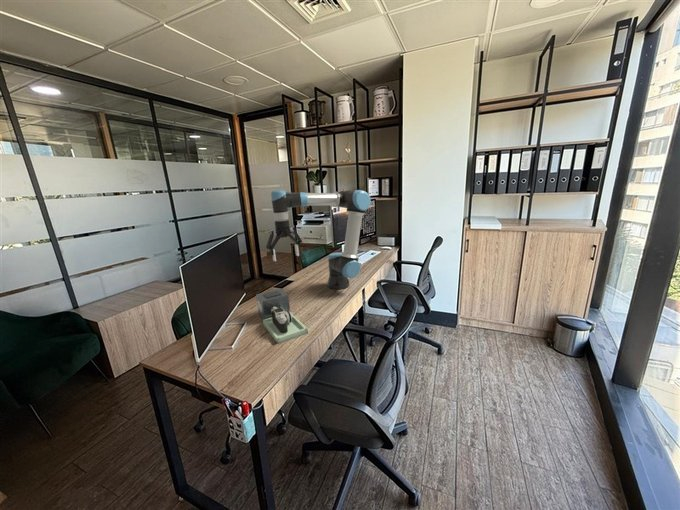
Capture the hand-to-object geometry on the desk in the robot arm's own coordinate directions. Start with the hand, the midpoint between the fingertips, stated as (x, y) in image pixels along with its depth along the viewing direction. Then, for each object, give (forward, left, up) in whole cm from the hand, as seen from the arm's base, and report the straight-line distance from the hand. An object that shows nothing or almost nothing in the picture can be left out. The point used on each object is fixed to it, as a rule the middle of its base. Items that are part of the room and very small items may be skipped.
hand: (286, 258), depth 153 cm
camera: (+12, +20, -29) cm, 37 cm away
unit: (+11, +3, -30) cm, 32 cm away
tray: (+12, +21, -30) cm, 38 cm away
